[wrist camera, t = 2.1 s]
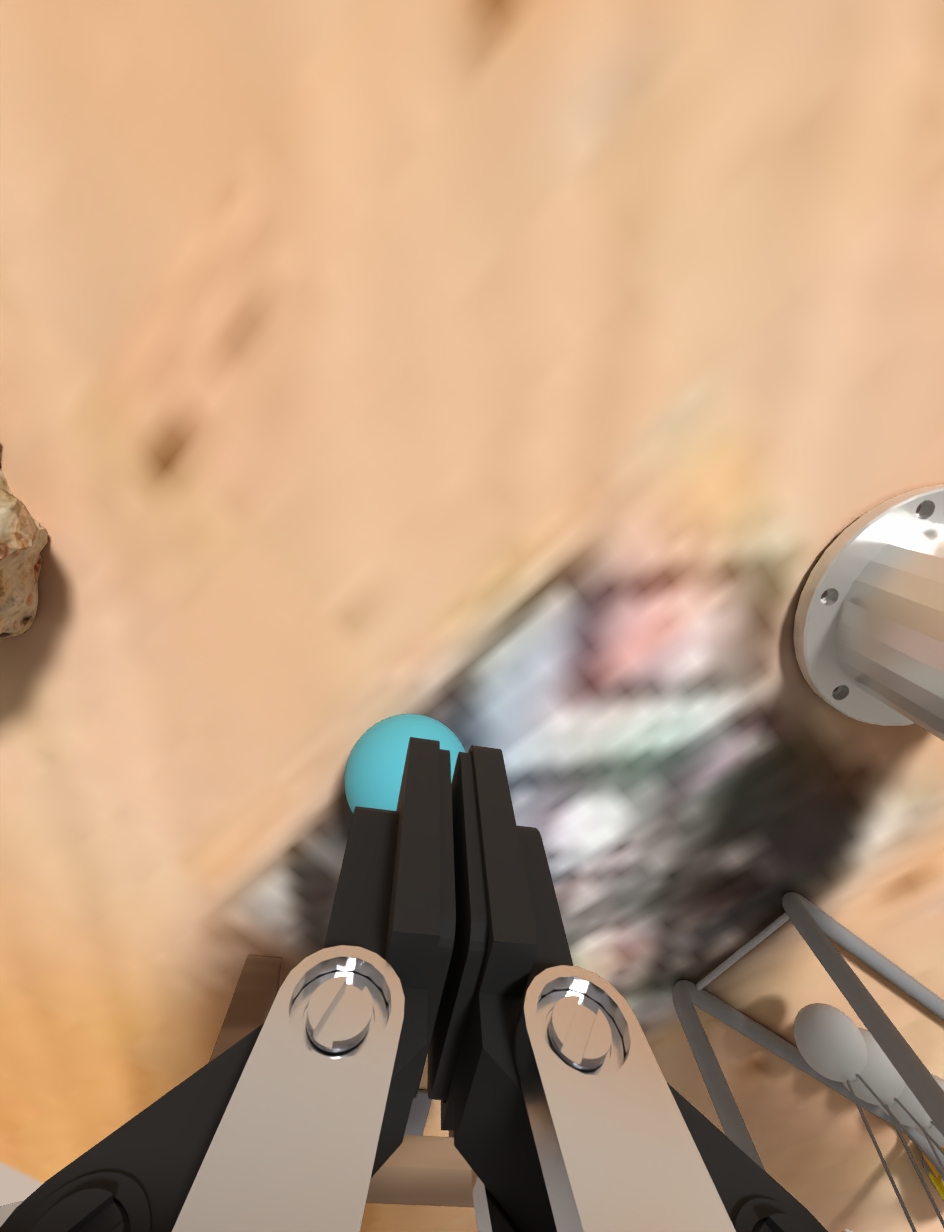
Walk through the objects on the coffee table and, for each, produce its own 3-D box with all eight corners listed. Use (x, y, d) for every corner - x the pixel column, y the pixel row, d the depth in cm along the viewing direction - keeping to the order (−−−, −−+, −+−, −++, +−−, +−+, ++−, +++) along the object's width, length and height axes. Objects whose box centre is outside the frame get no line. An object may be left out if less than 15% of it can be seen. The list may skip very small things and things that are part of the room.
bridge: (248, 954, 33) (175, 1155, 24) (486, 976, 35) (502, 1171, 26) (245, 989, 34) (174, 1194, 25) (477, 1008, 36) (489, 1207, 27)
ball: (477, 701, 28) (486, 770, 23) (456, 796, 30) (459, 881, 25) (362, 684, 28) (342, 750, 22) (348, 781, 30) (326, 866, 24)
